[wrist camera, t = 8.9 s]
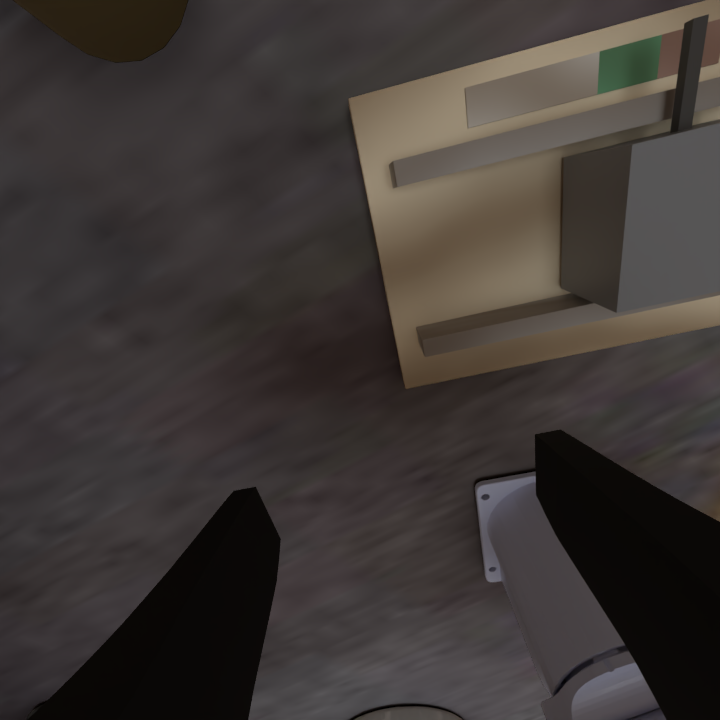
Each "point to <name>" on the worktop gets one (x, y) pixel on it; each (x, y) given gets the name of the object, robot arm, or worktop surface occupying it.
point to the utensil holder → (409, 714)
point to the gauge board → (515, 194)
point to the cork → (111, 24)
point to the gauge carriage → (647, 207)
